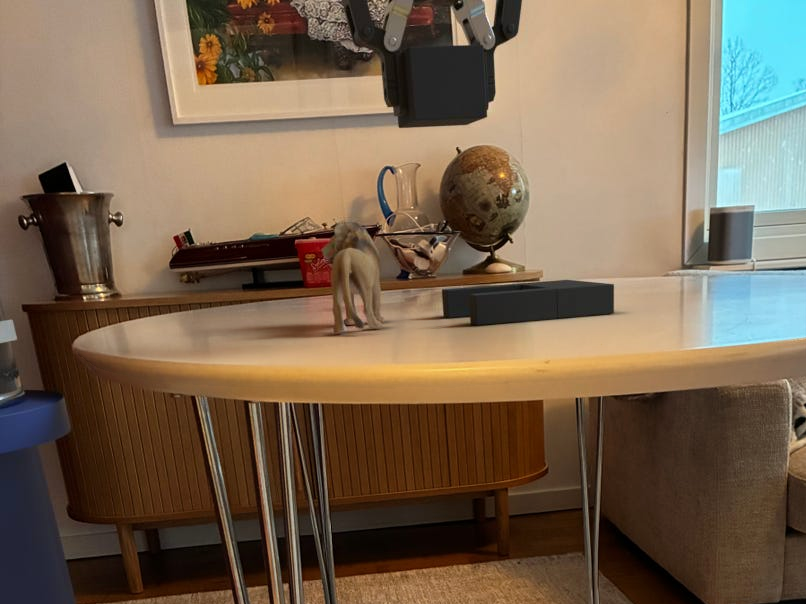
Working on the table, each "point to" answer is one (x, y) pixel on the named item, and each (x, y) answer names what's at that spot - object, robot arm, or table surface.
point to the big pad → (528, 301)
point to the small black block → (444, 86)
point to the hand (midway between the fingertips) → (440, 112)
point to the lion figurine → (354, 275)
